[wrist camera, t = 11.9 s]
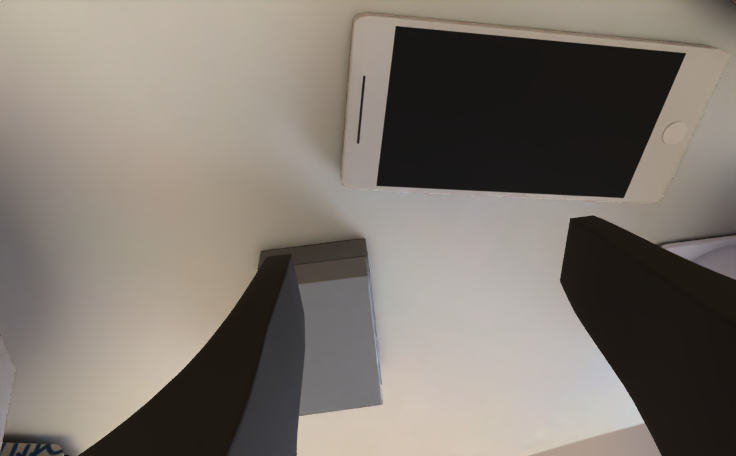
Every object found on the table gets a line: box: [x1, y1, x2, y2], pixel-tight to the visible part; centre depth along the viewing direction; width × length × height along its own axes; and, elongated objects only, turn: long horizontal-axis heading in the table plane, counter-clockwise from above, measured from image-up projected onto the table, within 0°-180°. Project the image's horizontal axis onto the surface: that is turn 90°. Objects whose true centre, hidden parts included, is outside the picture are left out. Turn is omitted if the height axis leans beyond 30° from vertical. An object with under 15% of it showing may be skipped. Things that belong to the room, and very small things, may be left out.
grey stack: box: [258, 239, 383, 416], centre depth 25 cm, size 9×5×3 cm, turn 5°
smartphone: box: [341, 13, 730, 204], centre depth 20 cm, size 7×15×1 cm, turn 84°
